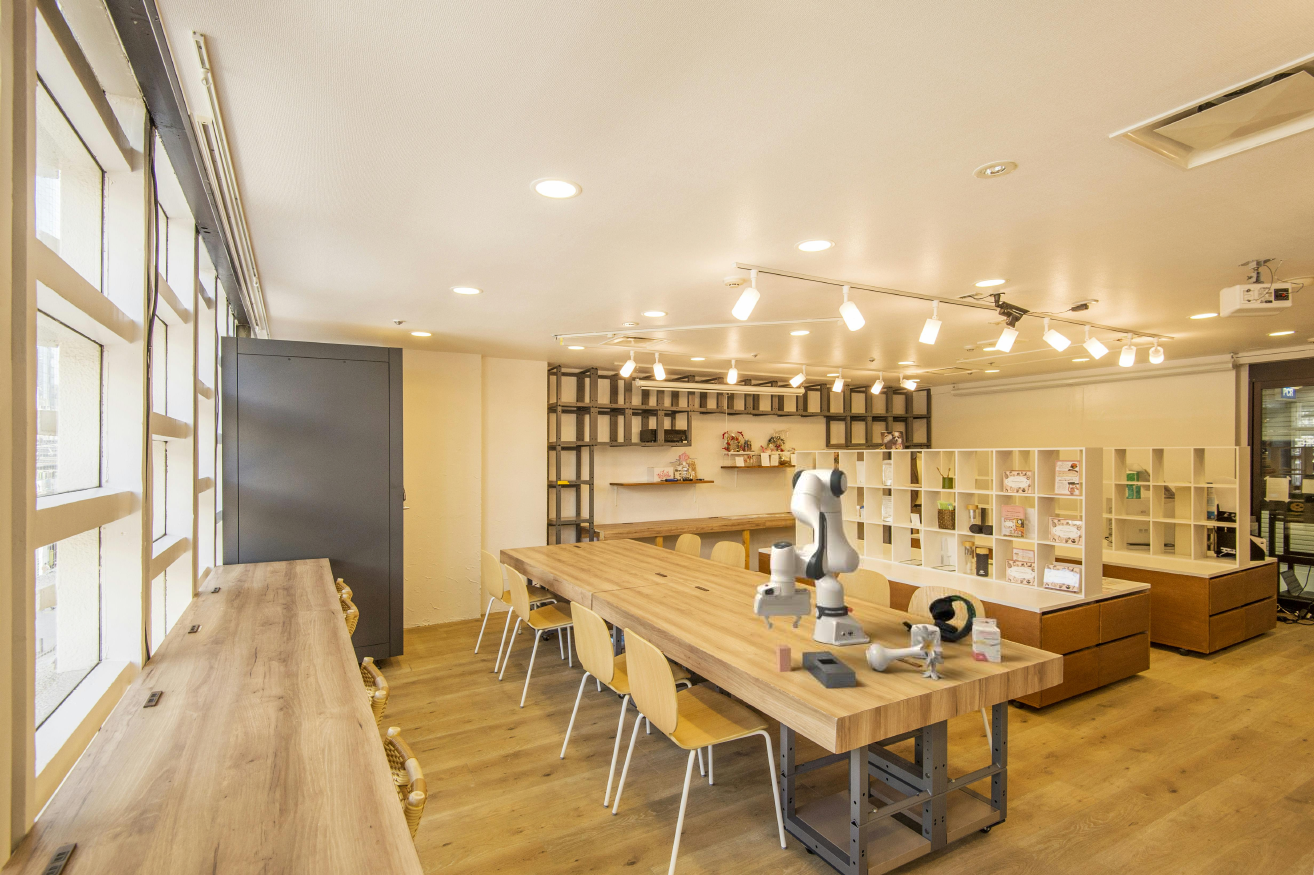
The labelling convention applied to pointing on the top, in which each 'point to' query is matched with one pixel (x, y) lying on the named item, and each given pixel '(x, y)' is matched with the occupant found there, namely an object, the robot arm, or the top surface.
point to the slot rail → (828, 669)
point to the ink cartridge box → (986, 640)
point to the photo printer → (917, 633)
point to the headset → (949, 618)
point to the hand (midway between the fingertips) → (782, 628)
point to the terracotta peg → (783, 658)
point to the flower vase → (909, 653)
